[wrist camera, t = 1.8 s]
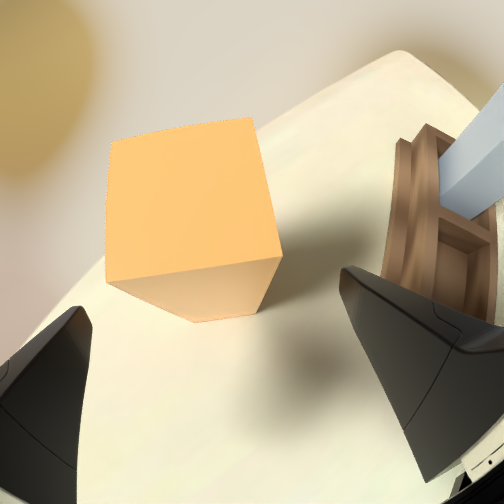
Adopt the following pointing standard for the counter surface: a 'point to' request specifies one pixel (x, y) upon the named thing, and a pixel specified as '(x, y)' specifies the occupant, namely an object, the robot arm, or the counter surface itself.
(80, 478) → the counter surface
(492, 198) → the grey plug
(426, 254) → the brown wooden tray
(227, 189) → the orange plug
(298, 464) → the counter surface
